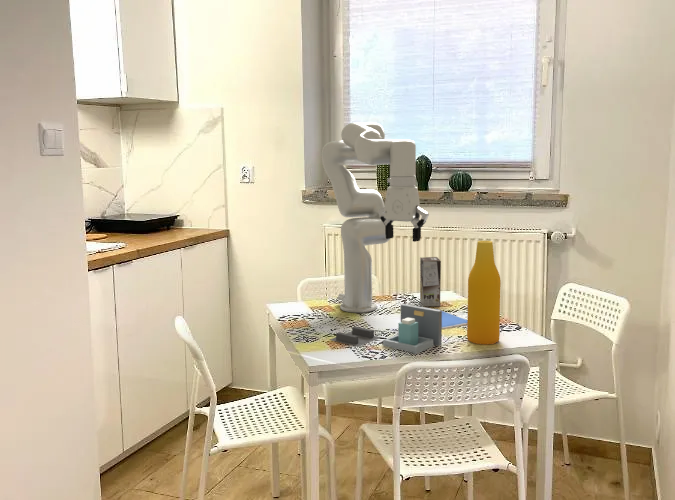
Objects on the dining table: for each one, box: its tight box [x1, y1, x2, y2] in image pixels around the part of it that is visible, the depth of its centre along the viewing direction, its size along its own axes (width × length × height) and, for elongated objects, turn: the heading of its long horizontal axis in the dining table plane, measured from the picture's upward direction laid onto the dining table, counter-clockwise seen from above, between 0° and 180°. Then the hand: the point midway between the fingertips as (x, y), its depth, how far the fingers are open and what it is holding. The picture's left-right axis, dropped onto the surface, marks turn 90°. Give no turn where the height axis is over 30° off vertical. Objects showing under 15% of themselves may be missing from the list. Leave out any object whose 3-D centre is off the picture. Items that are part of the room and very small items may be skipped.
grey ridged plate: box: [329, 326, 382, 347], centre depth 200 cm, size 11×11×2 cm
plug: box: [397, 318, 419, 345], centre depth 193 cm, size 4×4×8 cm
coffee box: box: [419, 256, 442, 307], centre depth 241 cm, size 9×6×16 cm
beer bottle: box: [466, 240, 502, 345], centre depth 196 cm, size 9×9×29 cm
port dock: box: [382, 303, 443, 355], centre depth 193 cm, size 13×12×10 cm
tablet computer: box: [435, 308, 468, 330], centre depth 221 cm, size 19×13×1 cm, turn 28°
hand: (402, 239), depth 204 cm, fingers open, 9 cm apart
